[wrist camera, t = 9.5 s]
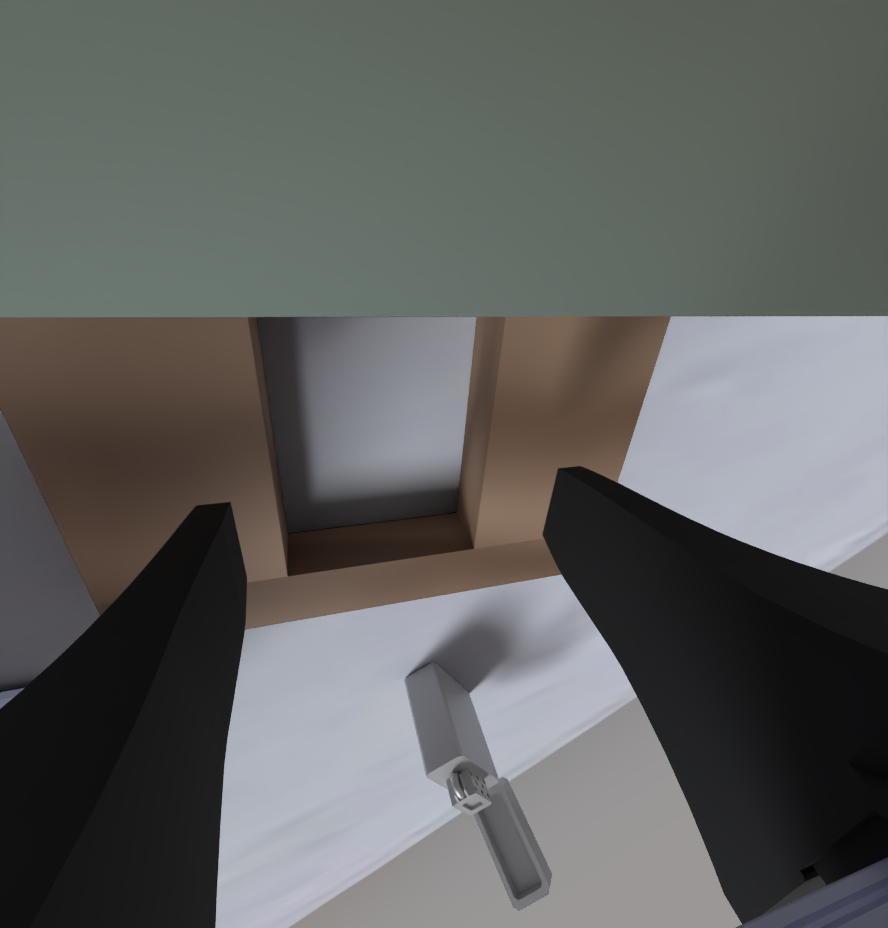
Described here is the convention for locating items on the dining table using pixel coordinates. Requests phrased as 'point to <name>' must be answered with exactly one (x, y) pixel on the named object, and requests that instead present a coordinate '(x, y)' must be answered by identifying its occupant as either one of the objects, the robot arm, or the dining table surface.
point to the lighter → (475, 780)
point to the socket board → (404, 243)
